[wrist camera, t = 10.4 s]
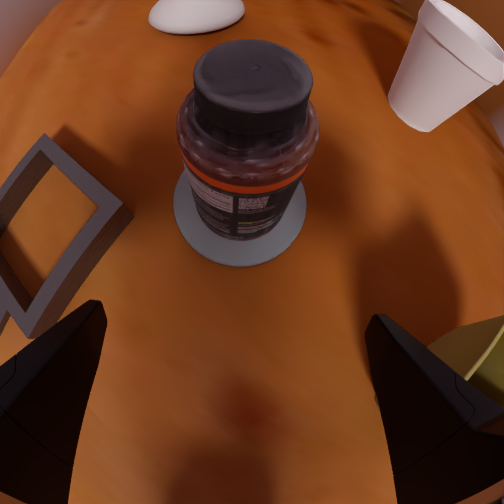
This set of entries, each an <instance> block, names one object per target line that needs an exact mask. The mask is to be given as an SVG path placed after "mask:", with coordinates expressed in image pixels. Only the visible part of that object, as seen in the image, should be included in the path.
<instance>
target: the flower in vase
mask: <svg viewBox="0 0 504 504" xmlns="http://www.w3.org/2000/svg"><path fill="white" fill-rule="evenodd" d="M244 13H245V7H244V4H243V2H242V1H241V0H159V1H158V2H157V3H156V4H155V6H154V7H153V8H152V9H151V11H150V15H149V18H148V19H149V23H150V24H151V25H152V26H153V27H155V28H156V29H158V30H160V31H163V32H166V33H172V34H196V33H204V32H210V31H215V30H219V29H222V28H225V27H227V26H230V25H232V24H233V23H235V22H236V21H238V20H239V19H240V18H241V17H242V16H243V14H244Z"/></svg>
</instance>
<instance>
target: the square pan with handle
mask: <svg viewBox="0 0 504 504" xmlns="http://www.w3.org/2000/svg"><path fill="white" fill-rule="evenodd" d="M53 164H54V165H55V166H56V167H57V168H58V169H59V170H60V171H61V172H62V173H63V174H64V175H65V176H66V177H67V178H68V179H70V180H71V181H72V182H73V183H74V184H75V185H76V186H77V187H78V188H79V189H80V190H81V191H82V192H83V193H84V194H85V195H86V196H87V197H88V198H89V199H90V200H91V201H93V202H94V203H95V204H96V205H97V206H98V207H99V208H98V209H97V211H96V212H95V213H94V214H93V216H92V217H91V218H90V219H89V220H88V222H87V223H86V224H85V226H84V227H83V228H82V229H81V231H80V232H79V233H78V235H77V236H76V237H75V239H74V240H73V241H72V243H71V244H70V245H69V247H68V248H67V250H66V251H65V252H64V254H63V255H62V257H61V258H60V259H59V261H58V262H57V264H56V265H55V267H54V268H53V270H52V271H51V273H50V274H49V276H48V277H47V279H46V280H45V282H44V284H43V285H42V287H41V288H40V290H39V292H38V293H37V295H36V296H35V298H34V300H33V299H32V298H31V297H30V295H29V294H28V293H27V291H26V290H25V289H24V287H23V286H22V284H21V283H20V281H19V280H18V278H17V277H16V275H15V274H14V272H13V271H12V269H11V268H10V266H9V265H8V263H7V262H6V260H5V258H4V257H3V255H2V253H1V252H0V335H1V333H2V331H3V329H4V327H5V325H6V323H7V321H8V319H9V317H10V315H11V316H12V318H13V319H14V320H15V322H16V323H17V325H18V326H19V328H20V329H21V330H22V332H23V333H24V334H25V336H26V337H27V338H28V339H36V338H37V337H39V336H40V335H41V334H43V333H44V332H45V331H47V330H48V329H49V328H51V327H52V326H53V325H55V324H56V323H57V321H58V320H59V318H60V316H61V315H62V313H63V312H64V310H65V309H66V307H67V306H68V304H69V303H70V301H71V300H72V298H73V297H74V295H75V294H76V292H77V291H78V289H79V288H80V286H81V285H82V284H83V282H84V281H85V279H86V278H87V277H88V275H89V274H90V272H91V271H92V270H93V268H94V267H95V266H96V264H97V263H98V262H99V260H100V259H101V258H102V256H103V255H104V254H105V252H106V251H107V250H108V248H109V247H110V246H111V245H112V243H113V242H114V241H115V240H116V238H117V237H118V236H119V235H120V233H121V232H122V231H123V230H124V228H125V227H126V226H127V225H128V224H129V222H130V221H131V220H132V219H133V218H134V216H133V214H132V213H131V212H130V211H129V209H128V208H127V207H126V206H125V205H124V203H123V202H122V201H120V200H119V199H118V198H117V197H116V196H115V195H113V194H112V193H111V192H110V191H109V190H108V189H106V188H105V187H104V186H103V185H102V184H101V183H99V182H98V181H97V180H96V179H95V178H94V177H93V176H91V175H90V174H89V173H88V172H87V171H86V170H85V169H84V168H82V167H81V166H80V165H79V164H78V163H77V162H76V161H75V160H73V159H72V158H71V157H70V156H69V155H68V154H67V153H66V152H65V151H64V150H62V149H61V148H60V147H59V146H58V145H57V144H56V143H55V142H54V141H53V140H52V139H50V138H49V137H48V136H47V135H46V134H45V133H44V134H43V135H42V136H41V137H40V138H39V140H38V141H37V142H36V143H35V144H34V145H33V146H32V148H31V149H30V150H29V151H28V152H27V154H26V155H25V156H24V157H23V158H22V160H21V161H20V162H19V163H18V165H17V166H16V167H15V169H14V170H13V171H12V172H11V174H10V175H9V176H8V178H7V179H6V181H5V182H4V183H3V185H2V186H1V188H0V237H1V235H2V233H3V232H4V230H5V229H6V227H7V225H8V224H9V222H10V221H11V219H12V218H13V216H14V215H15V213H16V212H17V210H18V209H19V208H20V206H21V205H22V203H23V202H24V200H25V199H26V198H27V196H28V195H29V194H30V192H31V191H32V190H33V188H34V187H35V186H36V185H37V183H38V182H39V181H40V179H41V178H42V177H43V176H44V175H45V173H46V172H47V171H48V170H49V168H50V167H51V166H52V165H53Z"/></svg>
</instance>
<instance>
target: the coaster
mask: <svg viewBox="0 0 504 504" xmlns="http://www.w3.org/2000/svg"><path fill="white" fill-rule="evenodd" d="M173 208H174V215H175V218H176V222H177V224H178V226H179V229H180V231H181V233H182V235H183V236H184V238H185V239H186V241H187V242H188V243H189V244H190V246H191V247H192V248H193V249H194V250H196V251H197V252H198V253H199V254H201V255H202V256H204V257H205V258H207V259H209V260H211V261H213V262H216V263H219V264H222V265H226V266H231V267H249V266H254V265H259V264H262V263H265V262H267V261H269V260H271V259H273V258H275V257H277V256H278V255H280V254H281V253H282V252H283V251H285V250H286V249H287V248H288V247H289V246H290V244H291V243H292V242H293V241H294V240H295V238H296V237H297V235H298V234H299V232H300V230H301V228H302V225H303V223H304V219H305V216H306V195H305V190H304V187H303V184H302V182H301V180H300V182H299V184H298V186H297V188H296V190H295V192H294V194H293V196H292V198H291V200H290V202H289V204H288V206H287V208H286V210H285V212H284V214H283V216H282V218H281V220H280V221H279V223H278V224H277V225H276V226H275V227H274V228H273V229H272V230H271V231H270V232H269V233H267V234H266V235H264V236H262V237H260V238H256V239H253V240H248V241H235V240H228V239H225V238H223V237H221V236H219V235H217V234H215V233H214V232H212V231H211V230H210V229H209V228H208V227H207V226H206V225H205V224H204V223H203V221H202V220H201V218H200V216H199V214H198V211H197V209H196V205H195V202H194V199H193V195H192V192H191V188H190V184H189V181H188V177H187V174H186V170H185V169H184V171H183V172H182V174H181V175H180V177H179V180H178V182H177V184H176V188H175V191H174V198H173Z"/></svg>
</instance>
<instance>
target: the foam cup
mask: <svg viewBox="0 0 504 504" xmlns="http://www.w3.org/2000/svg"><path fill="white" fill-rule="evenodd" d="M503 80H504V51H503V50H502V48H501V47H500V46H499V45H498V44H497V43H496V42H495V41H494V39H493V38H492V37H491V36H490V35H489V34H488V33H487V32H486V31H485V30H484V29H482V28H481V27H480V26H479V25H478V24H477V23H475V22H474V21H473V20H472V19H470V18H469V17H468V16H467V15H465V14H464V13H463V12H461V11H460V10H458V9H457V8H455V7H454V6H452V5H450V4H449V3H447V2H445V1H443V0H425V1H424V3H423V5H422V7H421V8H420V10H419V12H418V21H417V23H416V26H415V29H414V31H413V34H412V36H411V39H410V42H409V44H408V47H407V49H406V52H405V54H404V56H403V59H402V61H401V64H400V66H399V69H398V71H397V73H396V76H395V78H394V80H393V83H392V85H391V88H390V90H389V93H388V96H387V97H388V100H389V103H390V106H391V108H392V109H393V110H394V112H395V113H396V114H397V116H398V117H399V118H401V119H402V120H403V121H404V122H405V123H406V124H408V125H409V126H411V127H413V128H415V129H417V130H418V131H423V132H430V131H431V130H433V129H434V128H435V127H437V126H438V125H439V124H441V123H442V122H444V121H445V120H446V119H448V118H449V117H450V116H452V115H453V114H455V113H456V112H457V111H459V110H460V109H461V108H463V107H464V106H466V105H467V104H468V103H470V102H471V101H472V100H474V99H475V98H477V97H478V96H479V95H481V94H482V93H483V92H485V91H486V90H488V89H489V88H490V87H492V86H493V85H494V84H495V85H498V84H499V83H501V82H502V81H503Z"/></svg>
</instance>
